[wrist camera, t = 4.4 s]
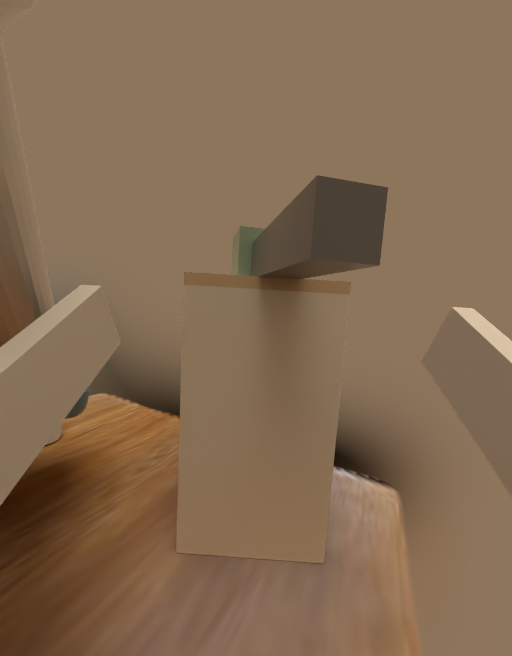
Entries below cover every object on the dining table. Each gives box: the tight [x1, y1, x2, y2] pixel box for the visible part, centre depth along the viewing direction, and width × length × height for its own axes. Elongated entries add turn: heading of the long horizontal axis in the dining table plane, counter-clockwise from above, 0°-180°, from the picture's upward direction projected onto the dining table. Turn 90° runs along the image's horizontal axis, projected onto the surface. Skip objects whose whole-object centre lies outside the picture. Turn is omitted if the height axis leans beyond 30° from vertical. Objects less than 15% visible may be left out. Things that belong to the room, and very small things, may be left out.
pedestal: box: [176, 272, 351, 564], centre depth 33 cm, size 14×16×30 cm
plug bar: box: [231, 176, 388, 279], centre depth 24 cm, size 22×7×6 cm, turn 12°
